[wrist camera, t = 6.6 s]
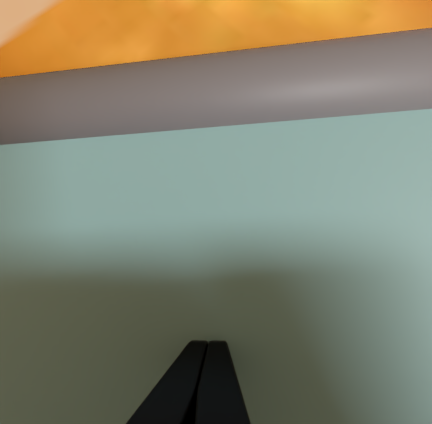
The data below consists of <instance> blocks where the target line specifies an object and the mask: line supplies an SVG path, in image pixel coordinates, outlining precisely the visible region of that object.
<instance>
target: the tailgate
mask: <svg viewBox="0 0 432 424" xmlns="http://www.w3.org/2000/svg"><path fill="white" fill-rule="evenodd" d="M192 340H206V341H208V343H209V341H211V340H224V341H226V342H227V343H228V346H229V350H230V353H231V357H232V360H233V364H234V367H235V370H236V374H237V377H238V381H239V384H240V388H241V391H242V395H243V398H244V401H245V405H246V408H247V412H248V415H249V419H250V422H251V424H432V28H426V29H417V30H409V31H400V32H391V33H383V34H374V35H365V36H357V37H348V38H340V39H331V40H322V41H314V42H305V43H296V44H288V45H279V46H271V47H262V48H253V49H245V50H236V51H227V52H219V53H210V54H202V55H193V56H184V57H176V58H167V59H158V60H150V61H141V62H133V63H124V64H115V65H107V66H98V67H90V68H81V69H72V70H64V71H55V72H46V73H38V74H29V75H21V76H12V77H3V78H0V424H126V423H127V421H128V420H129V419H130V417H131V416H132V415H133V414H134V412H135V411H136V410H137V408H138V407H139V406H140V405H141V403H142V402H143V401H144V399H145V398H146V397H147V396H148V394H149V393H150V392H151V390H152V389H153V388H154V386H155V385H156V384H157V383H158V381H159V380H160V379H161V377H162V376H163V375H164V374H165V372H166V371H167V370H168V368H169V367H170V366H171V365H172V363H173V362H174V361H175V359H176V358H177V357H178V356H179V354H180V353H181V352H182V350H183V349H184V348H185V346H186V345H187V344H188V343H189V342H190V341H192Z"/></svg>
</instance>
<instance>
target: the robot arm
mask: <svg viewBox="0 0 432 424" xmlns="http://www.w3.org/2000/svg"><path fill="white" fill-rule="evenodd" d="M126 424H251V422H250V419H249V415H248V412H247V408H246V405H245V401H244V398H243V395H242V391H241V388H240V384H239V381H238V377H237V374H236V370H235V367H234V364H233V360H232V357H231V353H230V350H229V346H228V343H227V342H226V341H224V340H211V341H209V343H208V341H206V340H192V341H190V342H189V343H188V344H187V345H186V346H185V348H184V349H183V350H182V352H181V353H180V354H179V356H178V357H177V358H176V359H175V361H174V362H173V363H172V365H171V366H170V367H169V368H168V370H167V371H166V372H165V374H164V375H163V376H162V377H161V379H160V380H159V381H158V383H157V384H156V385H155V386H154V388H153V389H152V390H151V392H150V393H149V394H148V396H147V397H146V398H145V399H144V401H143V402H142V403H141V405H140V406H139V407H138V408H137V410H136V411H135V412H134V414H133V415H132V416H131V417H130V419H129V420H128V421H127V423H126Z"/></svg>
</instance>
